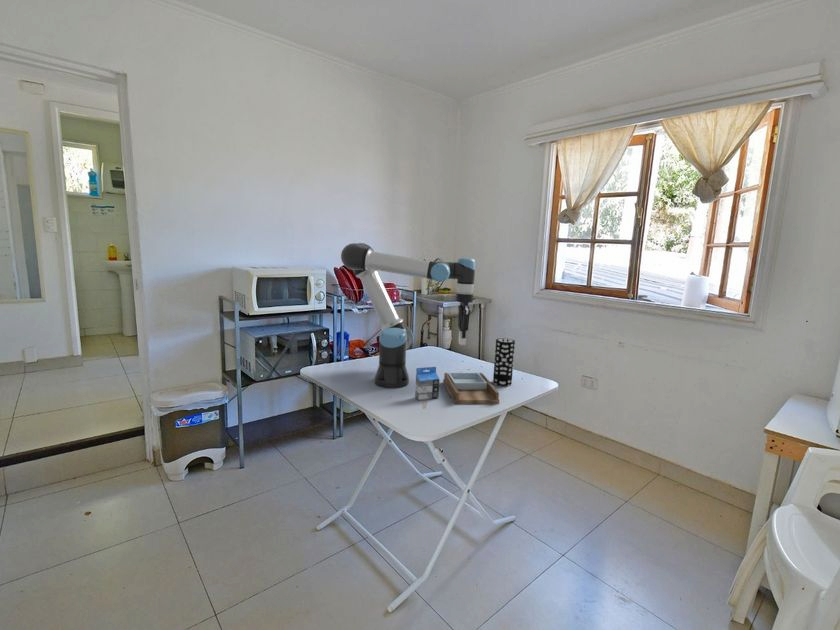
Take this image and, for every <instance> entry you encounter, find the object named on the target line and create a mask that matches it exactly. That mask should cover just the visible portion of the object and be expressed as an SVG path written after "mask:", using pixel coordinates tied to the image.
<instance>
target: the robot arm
mask: <svg viewBox="0 0 840 630" xmlns="http://www.w3.org/2000/svg"><path fill="white" fill-rule="evenodd" d="M340 260H341V263H342V264H343V266H344V267H346V268H347V269H349V270H351V271H352V272H353V274H354V276H355V277H356V278H357V279H360V281H361V283H362V286H363V287H364V289H365V291H366V293H367V297H368V298H369V299H370V302H371V304H372V307H373V308H374V310H375V313H376V314H377V317H378V320H379V321H380V323H381V325H382V326H381V328H380V333H379V338H378V339H379V340H378V342H379V345H378V346H379V348H378V349H379V353H378V355H379V356H378V357H379V359H378V367H377V370H376V373H375V376H374V384H375V385H377V386H378V385H379V387H381V386H382V388H387V389H390V388H391V389H396V388H403V387H405V386H407V385H409V383H410V377H409V372H408V369H407V366H406V364H407V363H406V360H407V350H408V349H409V348H410V347H411V346H412V342H413V338H414V337H413V336H414V335H413V331H412V329H410V328H409V326H407V324H406V322H405V320H404V319H403V318H400V317H399V315H398V313H397V310H396V308H395V306H394V304H393V302H392V299H391V298H390V296H389V293H388V291H387V289H386V287H385V284H384V282H383V281H382V279H381V277H380V274H379V272H385V273H390V274H391V273H392V274H397V275H402V276H403V275H404V276H409V277H415V278H422V279H427V280H432V281H435V282H437V283H439V282H440V283H442V282H445V281H447V280H457V281H456V295H455V296H456V299H455V300H456V302H458V303H459V305H458V306H457V308H458V310H457V311H458V312H457V313H458V318H457V319H458V321H457V327H458V342H457V344H459V345H460V346H466V345H467V334H468V333H467V332H468V331H469V323H470V316H471V315H470V313H471V309H470V306H469V303H473V301H474V288H475V287H476V286H475V274H476V273H475V271H476V261H475V259H474V258H467V257H466V258H463V257H460V258H458V260H457V261H456V262H454V261H453V262H452V261H439V260H438V261H432V260H431V261H430V260H425V259H421V258H420V259H419V258H413V257H408V256H403V255H402V256H401V255H397V254H396V255H395V254H389V253H384V252H383V253H382V252H378V251H375V250H374V249H373V247H371V245H369V244H366V243H364V242H363V243H361V242H358V243H357V242H356V243H353V242H352V243H349V244H347V245H345V246H344V248H343V249H342V251H341V254H340ZM378 271H379V272H378Z"/></svg>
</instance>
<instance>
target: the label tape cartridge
mask: <svg viewBox="0 0 840 630" xmlns="http://www.w3.org/2000/svg"><path fill="white" fill-rule="evenodd" d="M415 373H416V374H415V388H414V390H415V392H414V398H415V399H416V400H417V399H418V400H420V401H427V400H436V399H437V398H438V399H439V397H440V396H439V395H440V393H439V392H440V378H439V375H438V374H437V367H436V366H431V367H430V366H428V367H426V366H425V367H417V368H416V372H415ZM438 399H437V400H438ZM418 400H417V401H418Z"/></svg>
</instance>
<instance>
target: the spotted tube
mask: <svg viewBox="0 0 840 630" xmlns="http://www.w3.org/2000/svg"><path fill="white" fill-rule="evenodd" d="M515 345H516V340H515V339H512V338H503V337H502V338H495V349H494V350H495V351H494V363H493V376H492V377H493V378H492V383H493V384H494V385H496V386H499V387H510V386H512V385H511V384H513V383H512V382H513V371H514V361H515V360H514V358H515V357H514V356H515Z"/></svg>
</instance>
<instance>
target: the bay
mask: <svg viewBox="0 0 840 630" xmlns="http://www.w3.org/2000/svg"><path fill="white" fill-rule="evenodd" d="M448 373H449V372H444V374H443V375H444V376H443V379H442V380H443V381H442V382H443V383H442V384H443V385H444V386H445V389H446V391H447V392H448V395H449V394H450V395H449V396H450V398H451V400H452V402H453V404H454V405H475V404H476V405H481V404H482V405H484V404H485V405H486V404H488V405H491V404H494V405H495V404H500V397H499V396H500V392H499V391H498V390H497V389H496V388H495V386H494V385H493V384H492V382H490V380H489V379H488V378H487V377H486V375H484V373H483V372H478V373H479V374H480V375H481V376H482V377H483V379H484V380H485V381H486V382H487V390H457V389H456V387H455V385H454V384H453V382H452V380H451V378H450V377H449V375H448Z"/></svg>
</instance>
